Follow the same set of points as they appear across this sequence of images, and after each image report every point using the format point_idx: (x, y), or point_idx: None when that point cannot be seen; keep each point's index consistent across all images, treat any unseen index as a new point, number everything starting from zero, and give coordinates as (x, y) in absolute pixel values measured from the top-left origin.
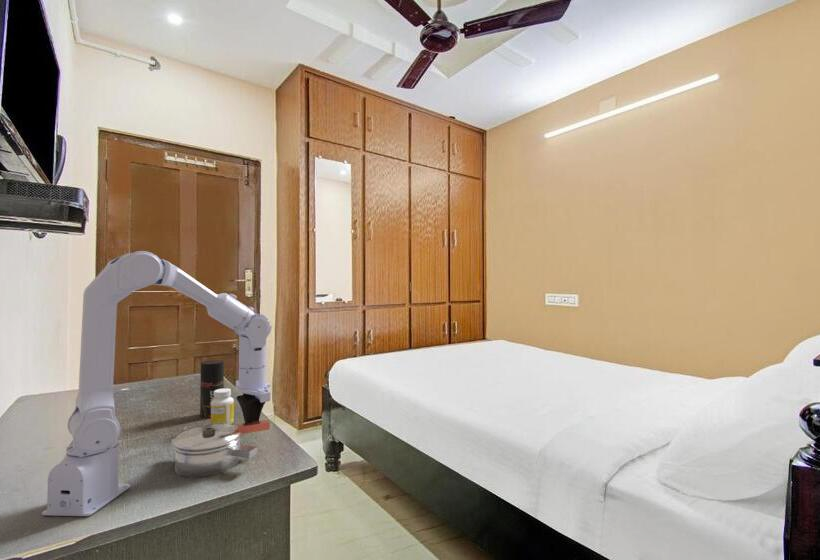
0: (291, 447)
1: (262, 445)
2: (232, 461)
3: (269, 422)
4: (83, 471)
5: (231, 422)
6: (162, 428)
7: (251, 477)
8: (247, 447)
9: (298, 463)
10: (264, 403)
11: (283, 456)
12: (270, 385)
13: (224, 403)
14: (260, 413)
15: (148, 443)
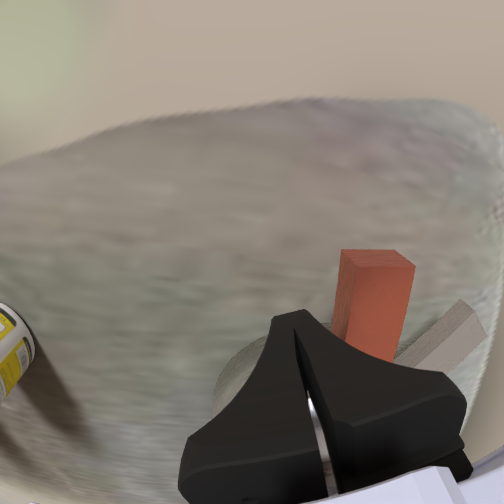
0: (326, 110)
1: (235, 225)
2: None
3: (415, 266)
4: None
5: (4, 323)
6: (12, 436)
7: (467, 296)
8: (457, 343)
9: (470, 143)
10: (406, 369)
11: (398, 169)
12: (447, 484)
13: None
14: (342, 340)
15: (97, 472)
